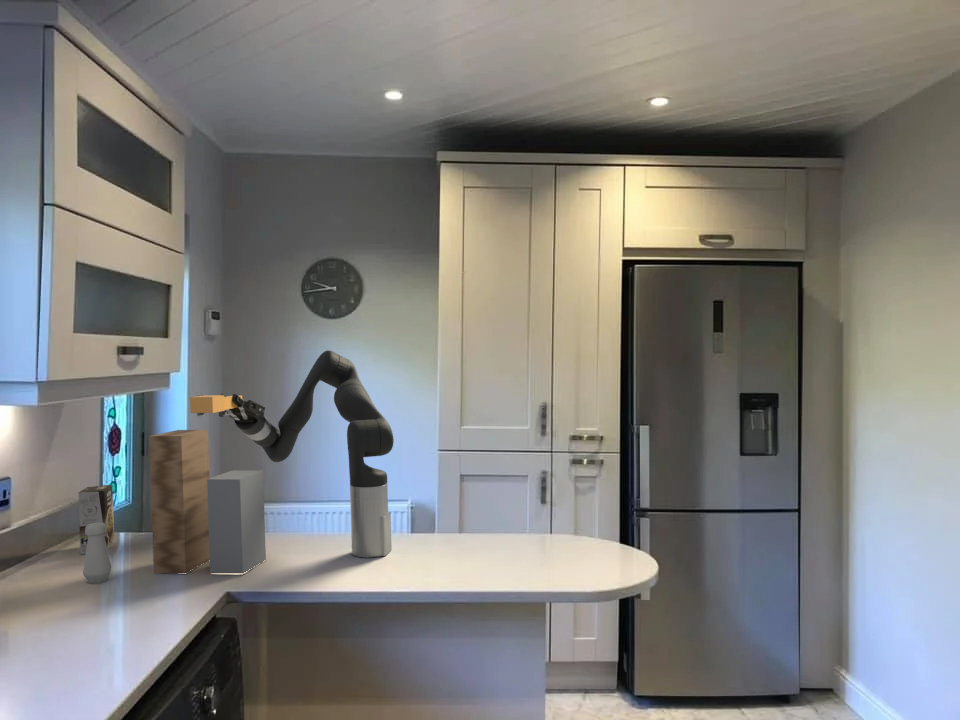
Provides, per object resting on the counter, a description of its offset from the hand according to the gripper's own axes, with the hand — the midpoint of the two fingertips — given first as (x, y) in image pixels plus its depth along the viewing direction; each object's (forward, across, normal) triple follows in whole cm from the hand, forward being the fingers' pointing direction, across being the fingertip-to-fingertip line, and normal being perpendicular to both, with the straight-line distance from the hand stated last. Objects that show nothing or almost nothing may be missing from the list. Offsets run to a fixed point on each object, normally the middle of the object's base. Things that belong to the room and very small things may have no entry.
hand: (227, 397), depth 199 cm
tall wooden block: (0, -1, +45) cm, 45 cm away
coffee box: (-12, -33, +38) cm, 52 cm away
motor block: (0, +13, +45) cm, 47 cm away
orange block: (+2, 0, +5) cm, 5 cm away
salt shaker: (+10, -15, +51) cm, 54 cm away
